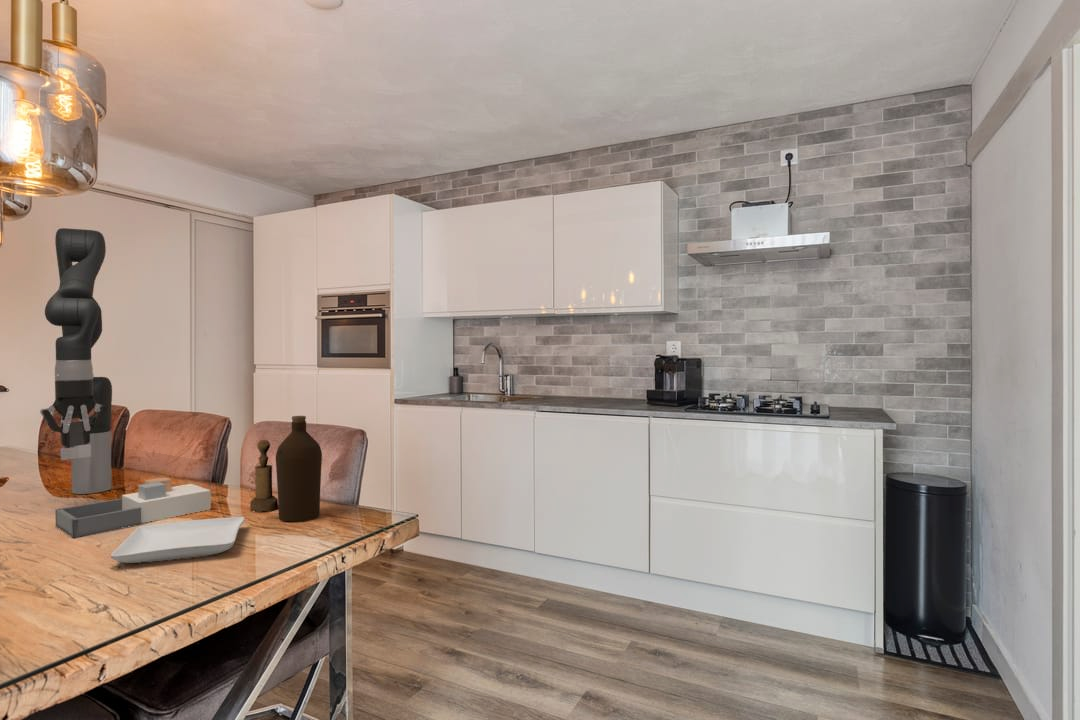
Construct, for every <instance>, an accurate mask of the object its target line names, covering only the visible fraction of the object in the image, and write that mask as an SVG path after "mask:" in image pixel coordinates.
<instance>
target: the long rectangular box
mask: <svg viewBox="0 0 1080 720" xmlns="http://www.w3.org/2000/svg"><path fill="white" fill-rule="evenodd" d="M211 495H212V493H211V490H210V489H209V488H205V487H201V486H199V485H197V484H194V483H188V484H187V483H186V484H182V485H175V486H171V491H170V492H166V497H161V498H155V499H150V500H143V499H141V498H139V497H138V492H132V493H126V494H122V495H121V499H122V510H126V509H132V508H138V507H140V508H141V523H142V524H146V523H145V522H147V523H151V522H150V521H152V522H156V520H157V521H162V520H167V519H172V518H176V516H177V517H181V515H182V516H186V515H185V514H187V515H191V514H190V513H192V514H196V513H195V512H197V513H201V512H200V511H202V512H205V510H207V511H210V509H212V507H211V505H212V504H211V500H212V499H211ZM171 517H172V518H171ZM166 518H167V519H166Z"/></svg>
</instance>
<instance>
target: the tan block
mask: <svg viewBox="0 0 1080 720" xmlns="http://www.w3.org/2000/svg"><path fill="white" fill-rule="evenodd" d="M156 482H160V483H163V484H165V485H166V492H170V491H171V487H172V479H170V478H168V477H166V476H165V477H158V478H150V479H145V480H144V484H149V483H156Z"/></svg>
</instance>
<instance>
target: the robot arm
mask: <svg viewBox="0 0 1080 720" xmlns="http://www.w3.org/2000/svg"><path fill="white" fill-rule="evenodd" d="M54 238H55V242H54V243H55V253H56V261H57V267H58V268H57V269H58V276H59V286H58V290H57V291H55V293H54V294H53V295H52V296H51V297H49V299H48V301H47V303H46V304H45V308H44V316H45V319H46V320H47V321H48V323H50V324H51V325H52V326H56V327H61V331H62V336H59V337H57V338H56V340H55V365H54V394H55V395H54V402H53V403H52V406H49V407H46V408H42V409H40V411H39V412H40V414H41V416H42V417H43V419H44V420H45V422H46V424H47V426H48V427H49V429H50V430H51V431H53V432H55V433H56V432H57V433H60V445H61V446H63V448H70V442H69V441H70V433H68V431H69V426H70V423H71V422H72V420H75V419H78V421H76V422H82V423H83V428H84V432H83V435H84V443H85V445H87V444H91V456H90V457H83V458H75V459H71V494H73V495H89V494H98V493H102V492H103V493H104V492H107V491H109V490H112V435H111V431H112V430H111V427H112V426H111V425H112V401H113V385H112V382H111V380H110V379H109V378H108V377H106V376H94V368H93V363H92V348H93V347H94V346H95V345H96V343H97V342H98V340H99V339H100V337H101V336H102V332H103V316H102V315H103V314H102V309H101V307H100V304H99V303H98V302H97V300H96V299H95V297H93V296H94V288H95V282H96V278H97V276H98V274H99V273H100V270H101V267H102V266H103V264H104V260H105V257H106V252H107V251H106V250H107V249H106V248H107V247H106V240H105V237H104V234H103V233H101V232H100V231H98V230H94V229H93V230H92V229H83V228H82V229H81V228H66V227H65V228H58V229H57V231H56V233H55V237H54ZM73 263H75V264H74V265H73ZM93 409H94V412H93V413H92V415H91V416H89V414H90V413H91V412H92V410H93ZM54 411H56V412H57V413H58V414H59V415H60V416H61V417H60V418H61V419H60V426H59V425H58V423H57V421H56V420H55V419H54V417H53V416H54V415H55V412H54Z"/></svg>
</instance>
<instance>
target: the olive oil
mask: <svg viewBox="0 0 1080 720" xmlns="http://www.w3.org/2000/svg"><path fill="white" fill-rule="evenodd" d="M291 420H292V421H291V431H290V433H289V435H287V437H285V439H283V441H281V443H279V446H278V447H277V450H276V453H275V467H276V469H275V471H276V485H277V488H276V489H277V499H278V508H277V510H278V520H279V521H281V520H283V521H282V522H284V521H301V522H306V521H305V520H308V521H310V520H309V519H312V520H314V519H313V518H315V519H316V517H317V518H318V517H319V516H320V515H321V514H320V513H321V508H320V507H321V484H322V483H321V481H322V465H323V464H322V463H323V453H322V452H323V451H322V448H321V446H320V444H319V442H318V441H317V440H316V439H315V438H314V437H312V436H311V435H310V433H308V431H307V421H306V420H307V416H306V415H294V416H292V417H291Z"/></svg>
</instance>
